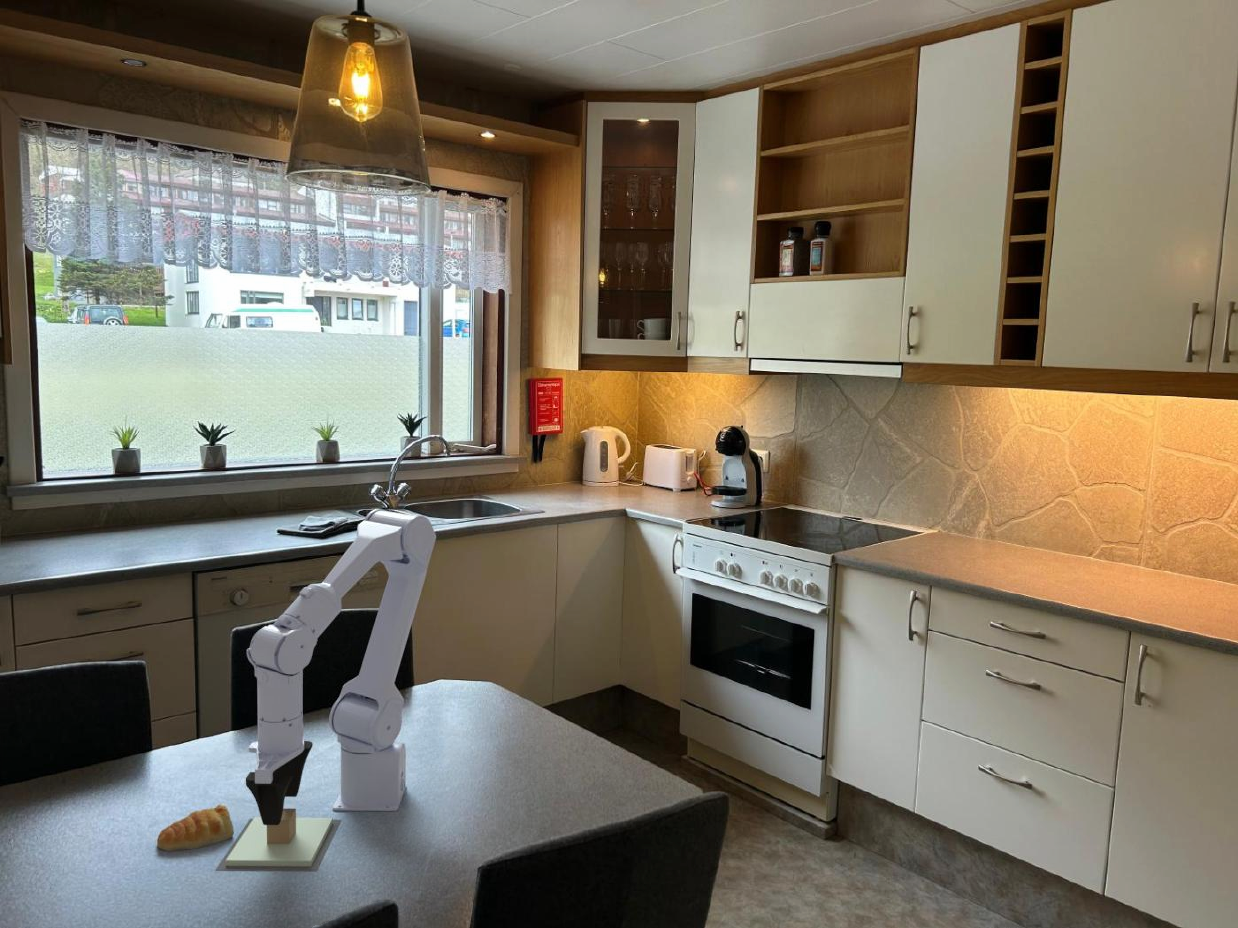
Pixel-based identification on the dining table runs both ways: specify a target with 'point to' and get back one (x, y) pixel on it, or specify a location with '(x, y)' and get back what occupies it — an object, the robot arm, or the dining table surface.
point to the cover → (281, 842)
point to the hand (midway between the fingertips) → (280, 809)
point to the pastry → (197, 830)
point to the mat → (314, 866)
